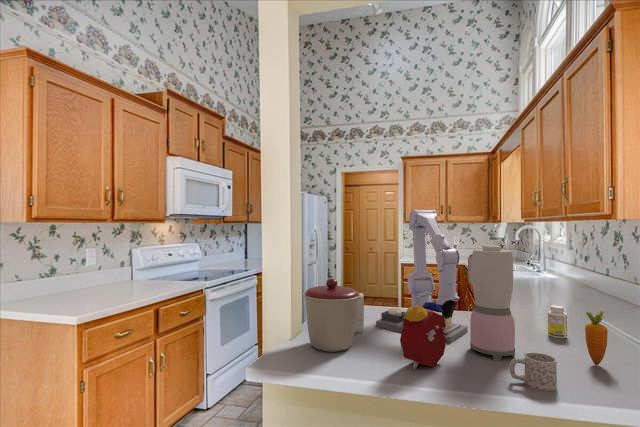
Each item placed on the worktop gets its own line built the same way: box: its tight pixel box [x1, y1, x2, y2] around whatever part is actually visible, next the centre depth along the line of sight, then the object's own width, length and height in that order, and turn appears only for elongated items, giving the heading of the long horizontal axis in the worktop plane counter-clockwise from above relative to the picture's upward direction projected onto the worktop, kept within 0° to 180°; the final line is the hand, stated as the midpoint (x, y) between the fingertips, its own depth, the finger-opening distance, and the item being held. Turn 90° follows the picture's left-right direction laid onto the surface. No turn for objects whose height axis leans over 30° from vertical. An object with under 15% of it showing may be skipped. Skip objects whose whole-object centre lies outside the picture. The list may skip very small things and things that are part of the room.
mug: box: [509, 352, 558, 392], centre depth 89 cm, size 10×7×7 cm
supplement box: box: [355, 292, 365, 334], centre depth 132 cm, size 7×7×13 cm
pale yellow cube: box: [440, 314, 453, 330], centre depth 126 cm, size 4×4×4 cm
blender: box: [467, 245, 516, 361], centre depth 112 cm, size 16×12×32 cm
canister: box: [302, 278, 361, 353], centre depth 114 cm, size 18×18×21 cm
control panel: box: [375, 310, 469, 344], centre depth 133 cm, size 16×28×4 cm, turn 50°
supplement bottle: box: [547, 305, 568, 339], centre depth 126 cm, size 6×6×10 cm
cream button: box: [387, 308, 403, 315], centre depth 139 cm, size 5×5×2 cm
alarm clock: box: [399, 291, 451, 370], centre depth 100 cm, size 15×9×20 cm, turn 133°
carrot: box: [584, 310, 608, 367], centre depth 101 cm, size 5×5×15 cm
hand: (447, 321), depth 129 cm, fingers closed
